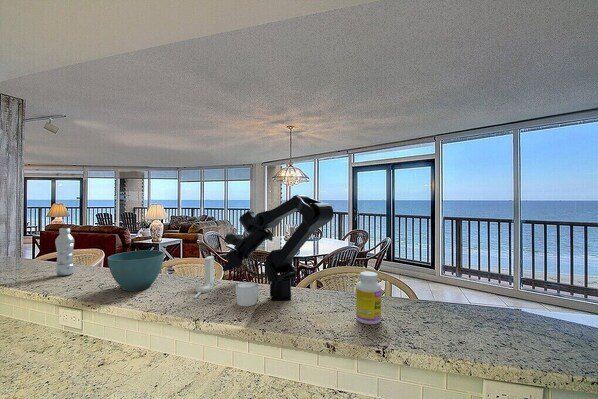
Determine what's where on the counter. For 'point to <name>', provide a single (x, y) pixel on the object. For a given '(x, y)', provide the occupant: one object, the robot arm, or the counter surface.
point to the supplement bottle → (368, 299)
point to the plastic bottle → (64, 252)
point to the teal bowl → (136, 268)
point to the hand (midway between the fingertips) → (223, 270)
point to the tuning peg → (207, 277)
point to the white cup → (247, 293)
